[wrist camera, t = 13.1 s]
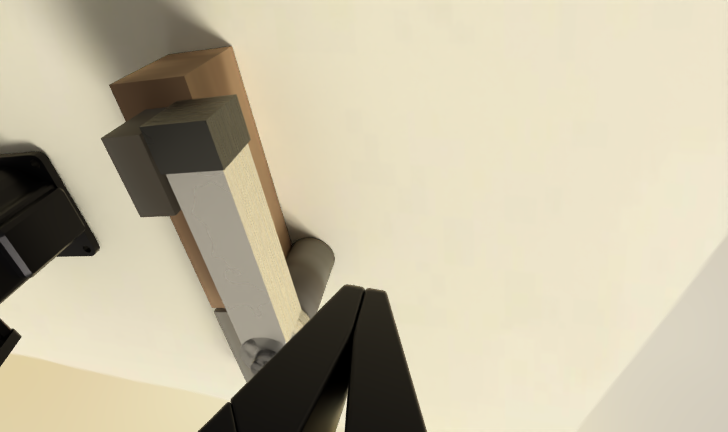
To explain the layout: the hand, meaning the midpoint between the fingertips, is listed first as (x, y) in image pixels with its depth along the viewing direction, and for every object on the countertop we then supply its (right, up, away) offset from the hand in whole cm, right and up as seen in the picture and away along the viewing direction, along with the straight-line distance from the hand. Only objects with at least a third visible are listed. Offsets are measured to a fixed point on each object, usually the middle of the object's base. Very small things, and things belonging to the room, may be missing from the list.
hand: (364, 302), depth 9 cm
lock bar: (-4, +1, +9) cm, 10 cm away
